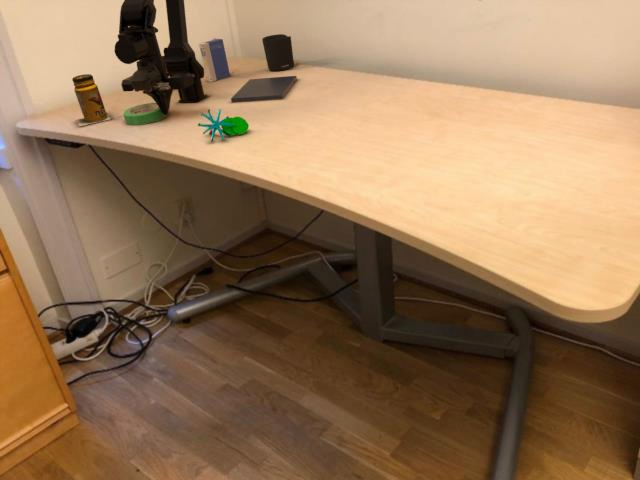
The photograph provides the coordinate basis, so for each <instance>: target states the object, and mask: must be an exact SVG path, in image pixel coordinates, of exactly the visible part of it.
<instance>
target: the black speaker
mask: <svg viewBox="0 0 640 480" xmlns="http://www.w3.org/2000/svg"><path fill="white" fill-rule="evenodd" d="M261 41H262V46H263V50H264V55H265V59H266V64H267V69H268V70H269V71H271V72H283V71H288V70H291V69H293V68H294V66H295V62H294V53H293V44H292V36H291V35H286V34H284V33H278V34H271V35H267V36H263V37H262V39H261Z"/></svg>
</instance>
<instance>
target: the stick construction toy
mask: <svg viewBox="0 0 640 480" xmlns="http://www.w3.org/2000/svg"><path fill="white" fill-rule="evenodd" d="M221 112H222V108H219V109H218V112H217V116H216V119H215V118H214V117H213V115H212V114H211V109H210V108H209V109H208V110H207V114H208V115H207V114H205V113H204V112H201V113H200V116H201V117H202V116H203V117H204V118H205V119H207V120H208V121H209V122H210V123H211V124H207V123H203V124H202V123H198V124H197V126H198V127H201V128H206V129H205V130H204V131H203V132H202V134H203V135H205V134H206V133H208V135H209V136H211V137H210V142H211V143H213V142H214V139H215V136H216V135H215V134H216V131H218V133H219V135H220V138H221V141H222V142H224V141H225V137H224V135H225V136H226V137H228V138H231V137H233V136H237V135H238V136H241V135H244V134H245V133H247V131H248V130H249V128H250V124H249V123H248V121H247V120H246V119H245V118H243V117H241V116H233V117H229V116H228V115H227V116H226V117H225V118H223V119H221V120H220V118H221Z"/></svg>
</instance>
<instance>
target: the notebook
mask: <svg viewBox="0 0 640 480" xmlns="http://www.w3.org/2000/svg"><path fill="white" fill-rule="evenodd" d="M297 80H298V77H297V75H288V76H275V77H263V78H260V77H259V78H250V79H249V80H248V81H246V82H245V84H243V86H242V87H241V88H240V89H239V90H238V91H236V92H235V94H233V95H232V97H231V98H230V101H231V103H246V102H260V101H261V102H262V101H274V100H284V98H285V97H286V95H288V93H289V91H290V90H291V88H292V87H293V86H294V84H296V82H297Z"/></svg>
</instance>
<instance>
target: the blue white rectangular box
mask: <svg viewBox="0 0 640 480" xmlns="http://www.w3.org/2000/svg"><path fill="white" fill-rule="evenodd" d="M198 47H199V49H200V55H201V60H202V63H203V68H204V73H205V76H206V80H207V82H210V83H213V82H216V81H218V80H222V79H224V78H225V79H226V78H228V77H230V76H231V73H230V68H229V67H230V66H229V63H228V59H227V53H226V50H225V49H226V48H225V44H224V39H222V38H216V37H215V38H212V39H211V40H208V41H204V42H201V43H199V44H198Z"/></svg>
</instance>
